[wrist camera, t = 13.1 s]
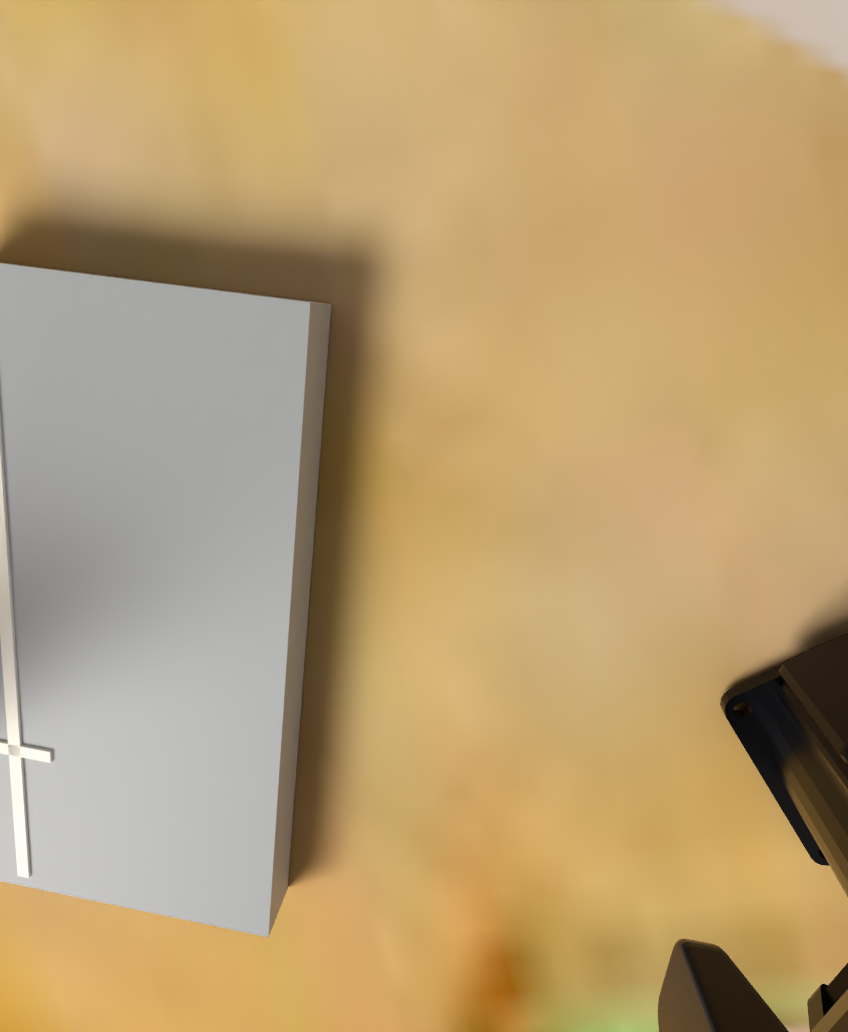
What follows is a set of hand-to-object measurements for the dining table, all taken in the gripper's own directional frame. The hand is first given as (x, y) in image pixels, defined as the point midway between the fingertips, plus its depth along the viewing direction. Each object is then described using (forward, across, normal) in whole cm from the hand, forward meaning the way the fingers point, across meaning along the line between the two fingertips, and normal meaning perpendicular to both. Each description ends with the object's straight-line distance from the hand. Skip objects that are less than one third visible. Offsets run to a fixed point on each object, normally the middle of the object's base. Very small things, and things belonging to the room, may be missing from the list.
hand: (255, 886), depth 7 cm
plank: (+13, +8, +4) cm, 16 cm away
